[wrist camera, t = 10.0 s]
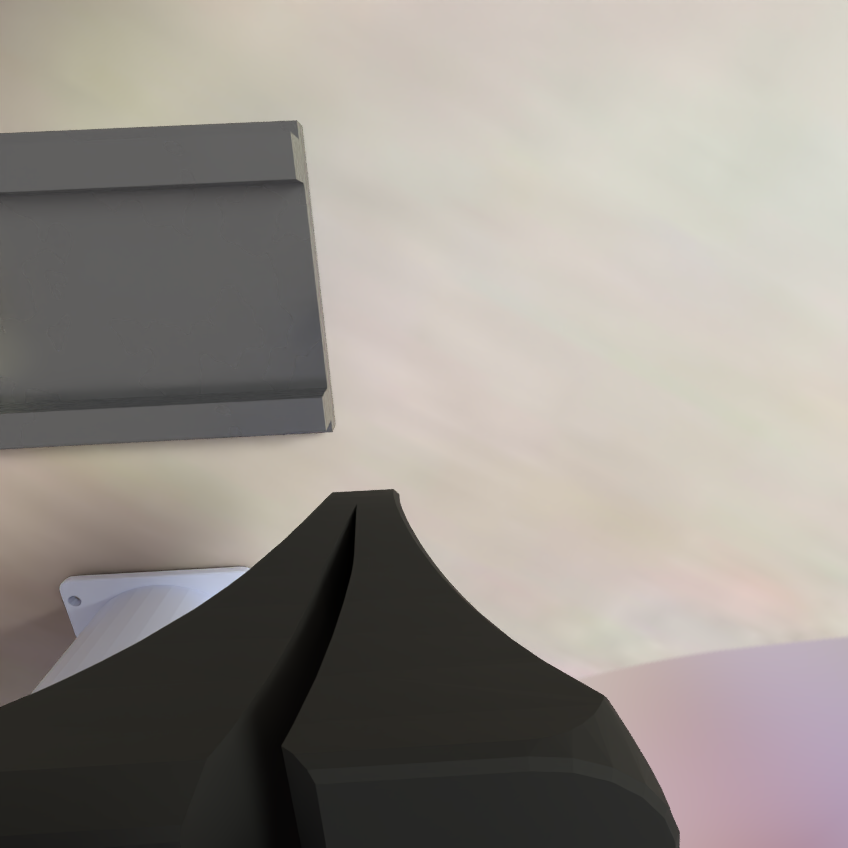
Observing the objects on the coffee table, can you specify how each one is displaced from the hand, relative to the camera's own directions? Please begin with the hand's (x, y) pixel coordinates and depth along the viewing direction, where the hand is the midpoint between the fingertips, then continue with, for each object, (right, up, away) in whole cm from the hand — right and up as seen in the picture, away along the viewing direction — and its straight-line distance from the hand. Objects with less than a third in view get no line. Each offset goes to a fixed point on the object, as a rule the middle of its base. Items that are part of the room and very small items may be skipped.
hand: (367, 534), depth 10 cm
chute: (-13, +6, +7) cm, 17 cm away
